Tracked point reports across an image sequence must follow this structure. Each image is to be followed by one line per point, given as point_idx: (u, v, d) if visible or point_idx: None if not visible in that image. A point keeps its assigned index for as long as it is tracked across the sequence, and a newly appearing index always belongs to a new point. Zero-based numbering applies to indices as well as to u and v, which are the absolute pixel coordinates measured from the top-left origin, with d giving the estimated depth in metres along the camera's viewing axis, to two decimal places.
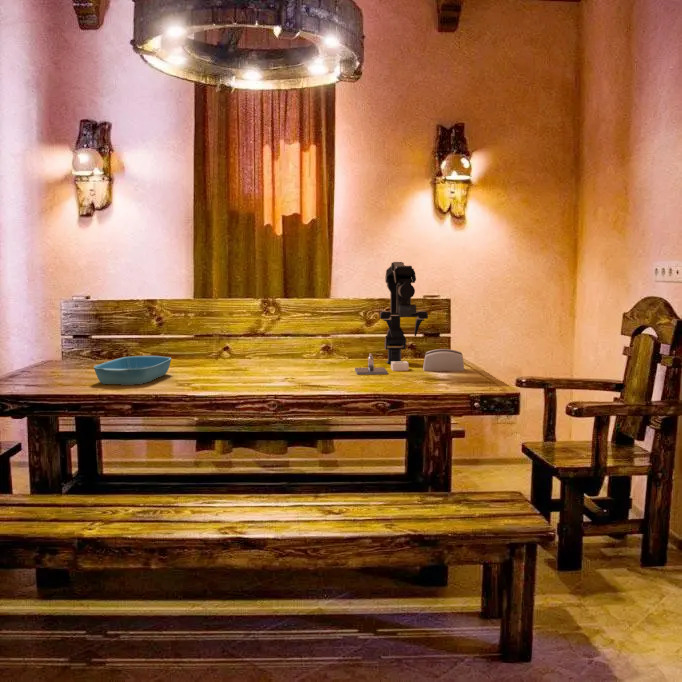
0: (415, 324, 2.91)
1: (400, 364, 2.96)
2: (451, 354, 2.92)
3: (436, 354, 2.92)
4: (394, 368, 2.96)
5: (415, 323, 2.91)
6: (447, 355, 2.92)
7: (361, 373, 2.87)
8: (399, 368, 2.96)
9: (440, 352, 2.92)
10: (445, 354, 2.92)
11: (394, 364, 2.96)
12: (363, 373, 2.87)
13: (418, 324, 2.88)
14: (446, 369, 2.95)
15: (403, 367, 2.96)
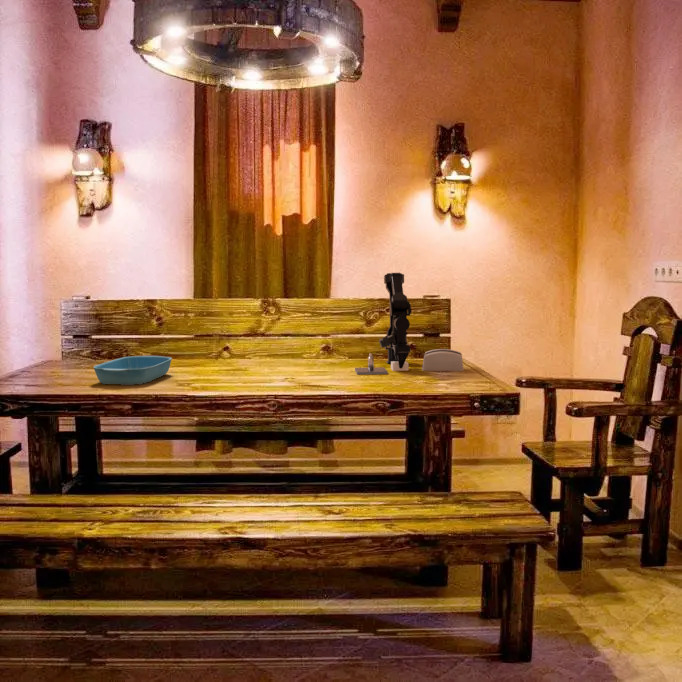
0: None
1: None
2: (450, 354, 2.92)
3: (435, 354, 2.92)
4: (394, 368, 2.96)
5: None
6: (446, 355, 2.92)
7: (361, 373, 2.87)
8: (399, 368, 2.96)
9: (439, 352, 2.92)
10: (444, 354, 2.92)
11: (394, 364, 2.96)
12: (363, 373, 2.87)
13: (397, 356, 2.94)
14: (445, 369, 2.95)
15: (403, 367, 2.96)
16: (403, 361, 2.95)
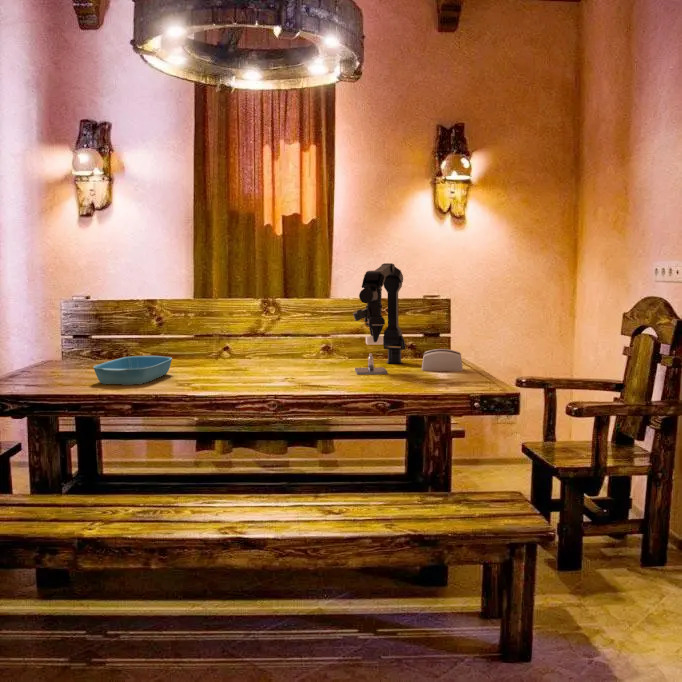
0: None
1: None
2: (449, 354, 2.92)
3: (434, 354, 2.93)
4: (368, 342, 2.89)
5: None
6: (445, 355, 2.92)
7: (361, 373, 2.87)
8: (374, 342, 2.89)
9: (438, 352, 2.93)
10: (443, 354, 2.92)
11: (368, 338, 2.88)
12: (363, 373, 2.87)
13: (371, 330, 2.87)
14: (444, 369, 2.95)
15: (378, 341, 2.89)
16: (377, 335, 2.87)
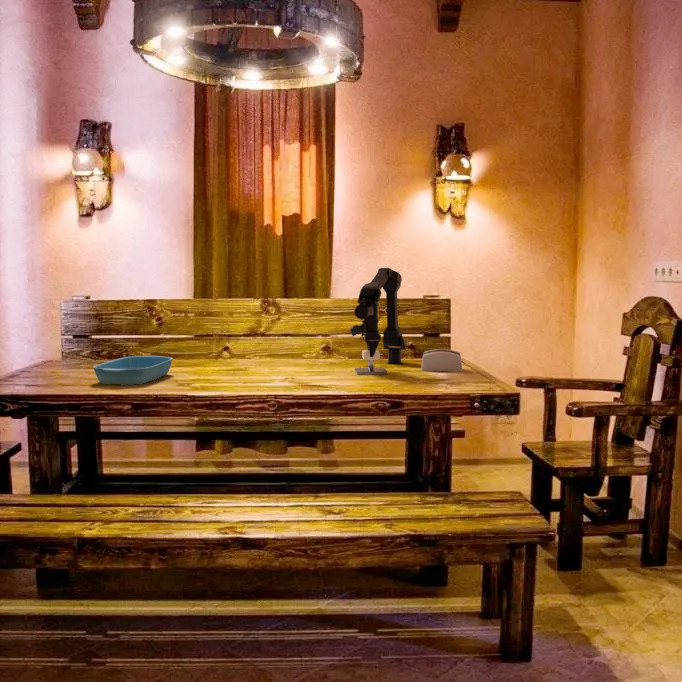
0: None
1: None
2: (448, 354, 2.92)
3: (433, 354, 2.93)
4: (365, 357, 2.89)
5: None
6: (444, 355, 2.92)
7: (361, 373, 2.87)
8: (370, 357, 2.89)
9: (437, 352, 2.93)
10: (442, 354, 2.92)
11: (365, 353, 2.89)
12: (363, 373, 2.87)
13: (368, 345, 2.87)
14: (444, 369, 2.95)
15: (374, 356, 2.89)
16: (374, 350, 2.87)
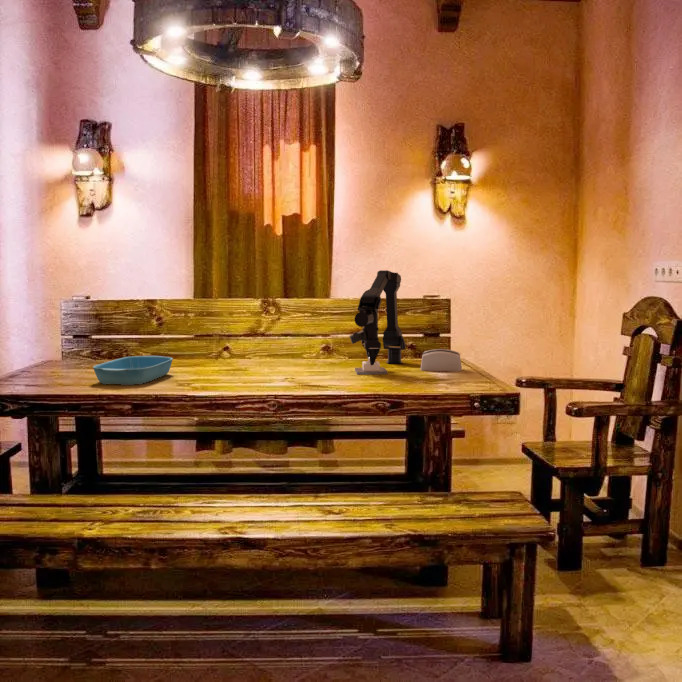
0: None
1: None
2: (448, 354, 2.92)
3: (433, 354, 2.93)
4: (365, 368, 2.89)
5: None
6: (444, 355, 2.92)
7: (361, 373, 2.87)
8: (370, 368, 2.89)
9: (437, 352, 2.93)
10: (442, 354, 2.92)
11: (365, 364, 2.89)
12: (363, 373, 2.87)
13: (368, 353, 2.86)
14: (443, 369, 2.95)
15: (374, 367, 2.89)
16: (374, 358, 2.87)
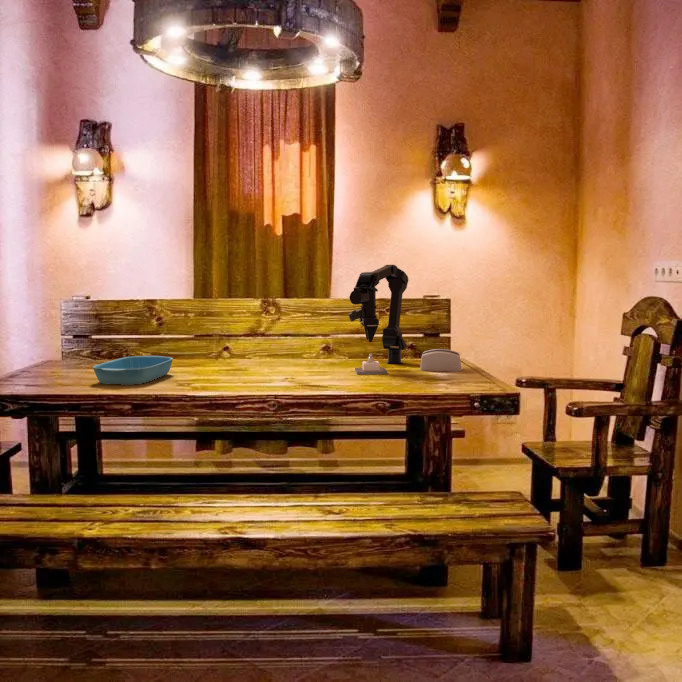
0: None
1: (371, 364, 2.89)
2: (447, 354, 2.92)
3: (432, 354, 2.93)
4: (365, 368, 2.89)
5: None
6: (443, 355, 2.92)
7: (361, 373, 2.87)
8: (370, 368, 2.89)
9: (436, 352, 2.93)
10: (441, 354, 2.92)
11: (365, 364, 2.89)
12: (363, 373, 2.87)
13: (366, 330, 2.94)
14: (443, 369, 2.95)
15: (374, 367, 2.89)
16: (372, 335, 2.94)
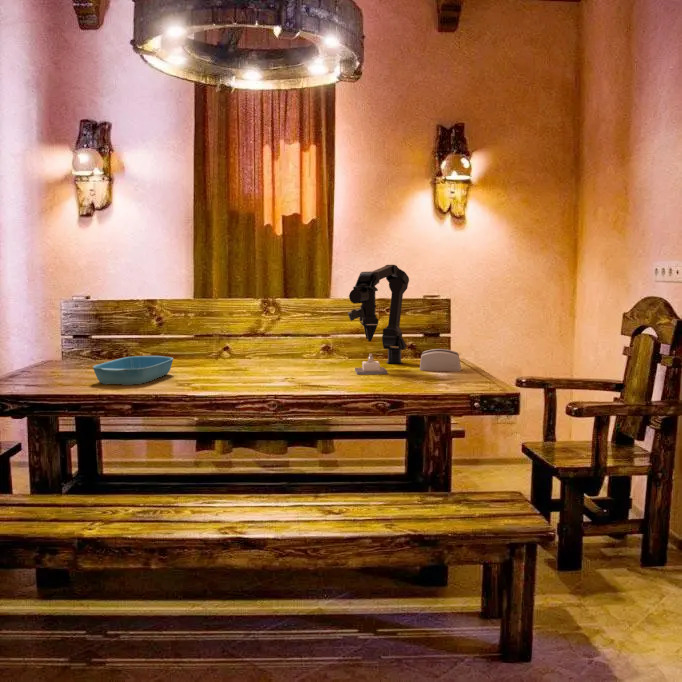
0: None
1: (371, 364, 2.89)
2: (446, 354, 2.92)
3: (431, 354, 2.93)
4: (365, 368, 2.89)
5: None
6: (442, 355, 2.92)
7: (361, 373, 2.87)
8: (370, 368, 2.89)
9: (435, 352, 2.93)
10: (440, 354, 2.92)
11: (365, 364, 2.89)
12: (363, 373, 2.87)
13: (366, 329, 2.94)
14: (442, 369, 2.95)
15: (374, 367, 2.89)
16: (372, 334, 2.95)
